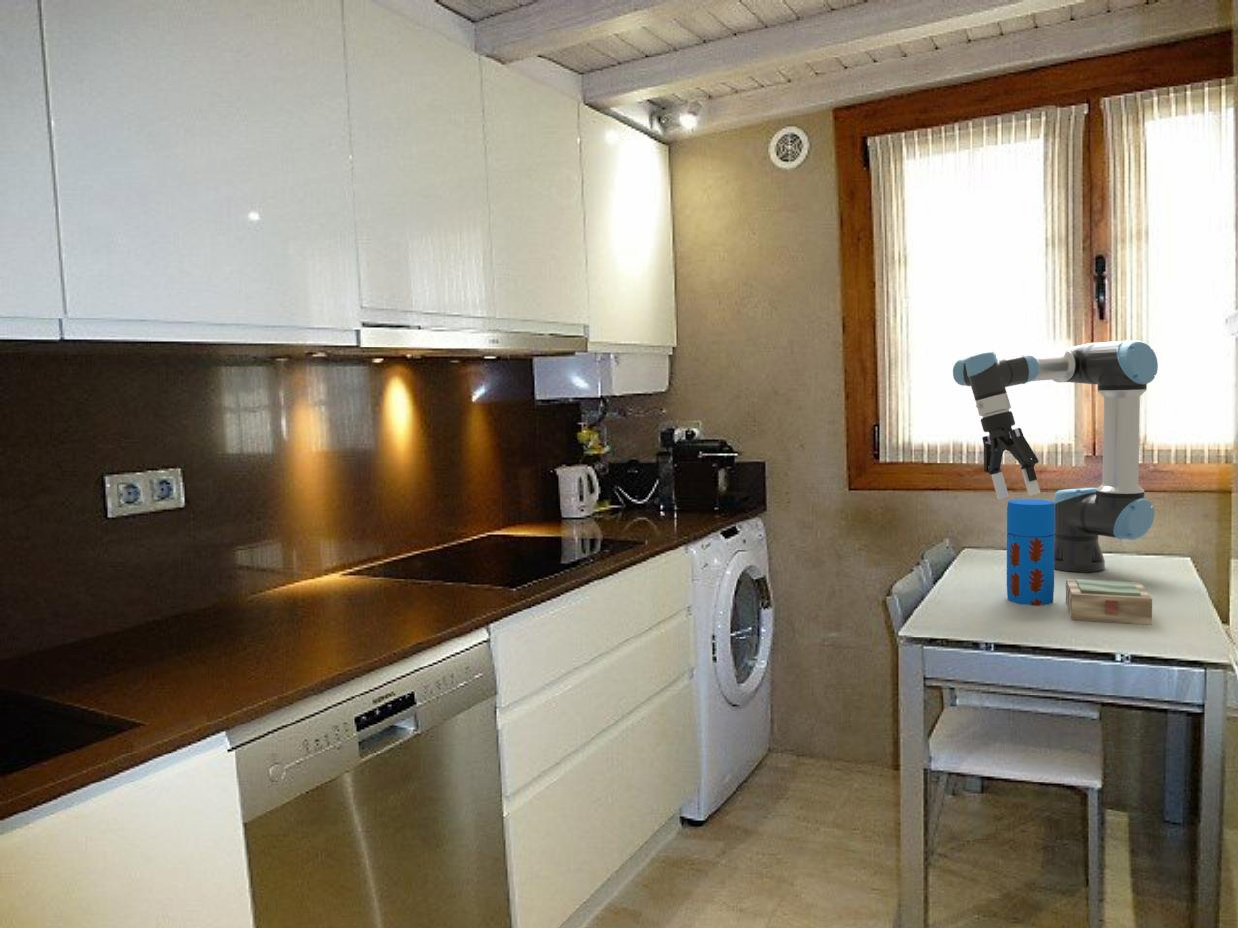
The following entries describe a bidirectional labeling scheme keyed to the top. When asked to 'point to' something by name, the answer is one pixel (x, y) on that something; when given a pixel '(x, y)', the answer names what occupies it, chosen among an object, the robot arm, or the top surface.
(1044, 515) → the thermos
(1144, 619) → the wooden box
